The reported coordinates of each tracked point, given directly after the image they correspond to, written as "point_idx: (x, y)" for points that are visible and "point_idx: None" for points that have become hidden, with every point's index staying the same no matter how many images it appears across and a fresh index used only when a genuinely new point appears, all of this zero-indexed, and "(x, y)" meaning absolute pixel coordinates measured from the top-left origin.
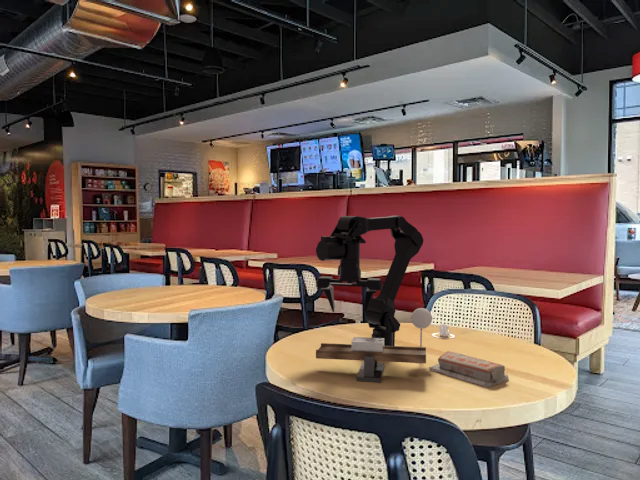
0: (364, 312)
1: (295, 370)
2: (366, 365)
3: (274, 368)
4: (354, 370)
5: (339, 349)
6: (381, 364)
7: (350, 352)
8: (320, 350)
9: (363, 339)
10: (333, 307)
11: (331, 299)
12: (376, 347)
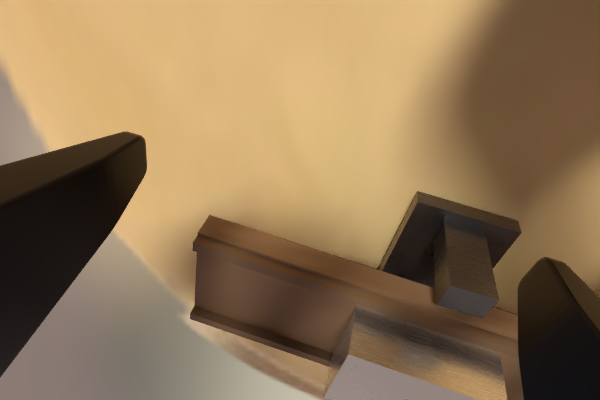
0: (525, 300)
1: (152, 211)
2: None
3: None
4: (367, 238)
5: (285, 304)
6: (498, 242)
7: (326, 362)
8: (207, 324)
9: (386, 394)
10: (113, 227)
11: (16, 343)
12: None
